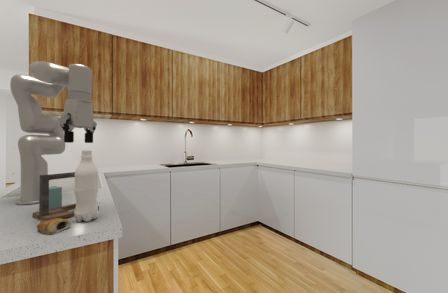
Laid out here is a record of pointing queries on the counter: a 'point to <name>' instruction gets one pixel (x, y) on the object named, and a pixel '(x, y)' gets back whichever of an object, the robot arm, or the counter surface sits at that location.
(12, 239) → the counter surface
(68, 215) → the hook shelf
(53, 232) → the pastry
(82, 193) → the water bottle
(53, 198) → the teal rectangular block
